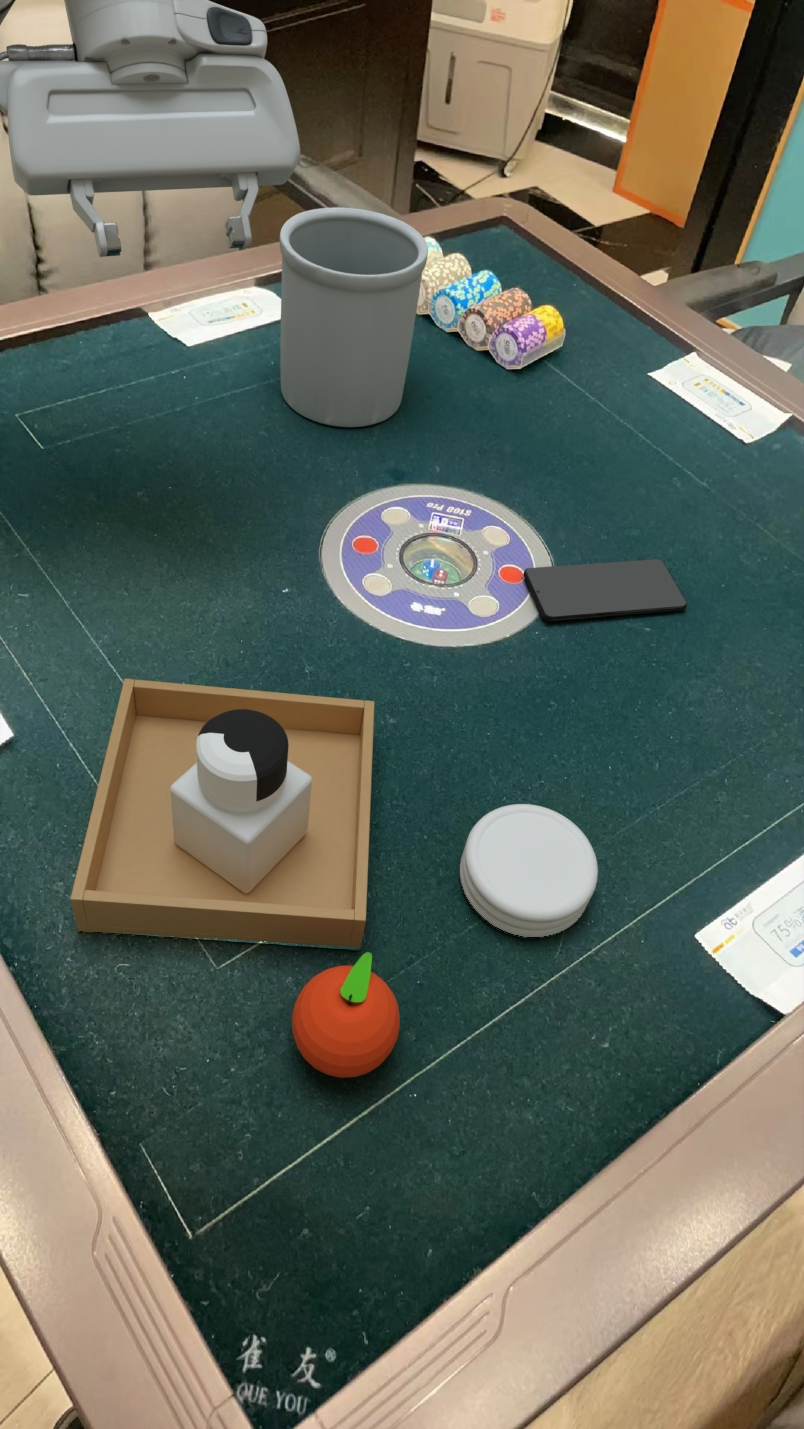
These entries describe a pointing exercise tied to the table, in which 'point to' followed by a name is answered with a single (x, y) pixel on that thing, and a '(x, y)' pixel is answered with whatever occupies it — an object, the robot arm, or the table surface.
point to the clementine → (346, 1020)
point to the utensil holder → (347, 313)
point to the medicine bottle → (241, 798)
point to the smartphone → (603, 589)
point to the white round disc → (528, 870)
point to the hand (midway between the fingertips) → (176, 249)
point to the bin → (179, 888)
